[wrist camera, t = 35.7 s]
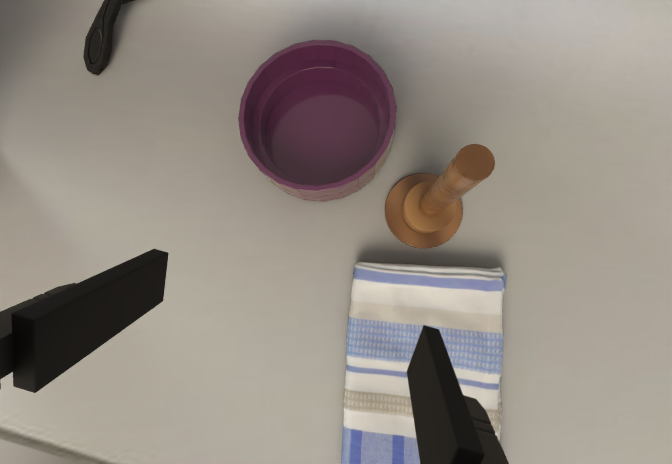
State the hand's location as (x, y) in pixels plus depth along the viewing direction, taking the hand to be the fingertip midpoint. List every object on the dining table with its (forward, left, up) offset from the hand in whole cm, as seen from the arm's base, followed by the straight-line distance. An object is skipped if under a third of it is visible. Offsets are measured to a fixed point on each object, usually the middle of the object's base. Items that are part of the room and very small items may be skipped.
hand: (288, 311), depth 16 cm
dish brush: (+14, +4, -22) cm, 26 cm away
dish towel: (+6, -12, -23) cm, 27 cm away
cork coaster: (+14, +4, -23) cm, 27 cm away
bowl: (+7, +18, -23) cm, 30 cm away
